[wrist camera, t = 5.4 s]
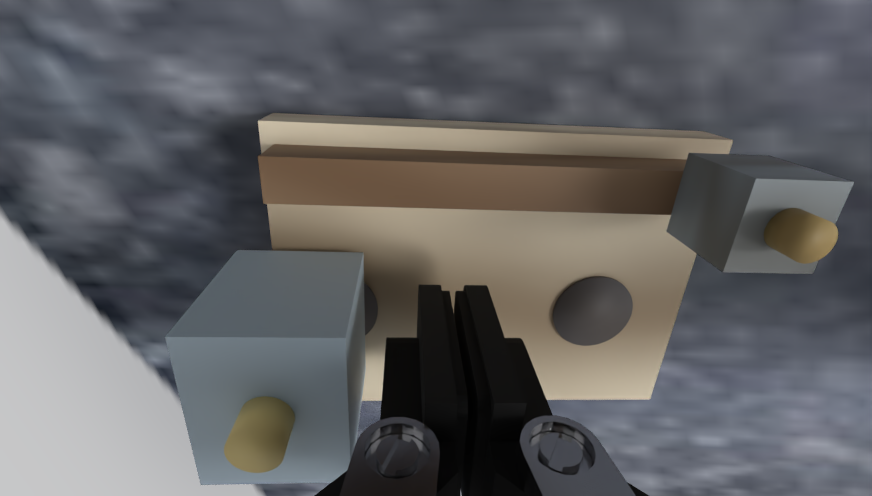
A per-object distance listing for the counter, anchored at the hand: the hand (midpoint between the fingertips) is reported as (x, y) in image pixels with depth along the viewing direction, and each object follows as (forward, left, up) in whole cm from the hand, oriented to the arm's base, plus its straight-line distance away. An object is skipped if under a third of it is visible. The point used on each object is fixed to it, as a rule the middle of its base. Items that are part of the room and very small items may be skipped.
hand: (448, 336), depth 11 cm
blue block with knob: (0, -4, -1) cm, 4 cm away
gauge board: (-1, +1, -2) cm, 3 cm away
